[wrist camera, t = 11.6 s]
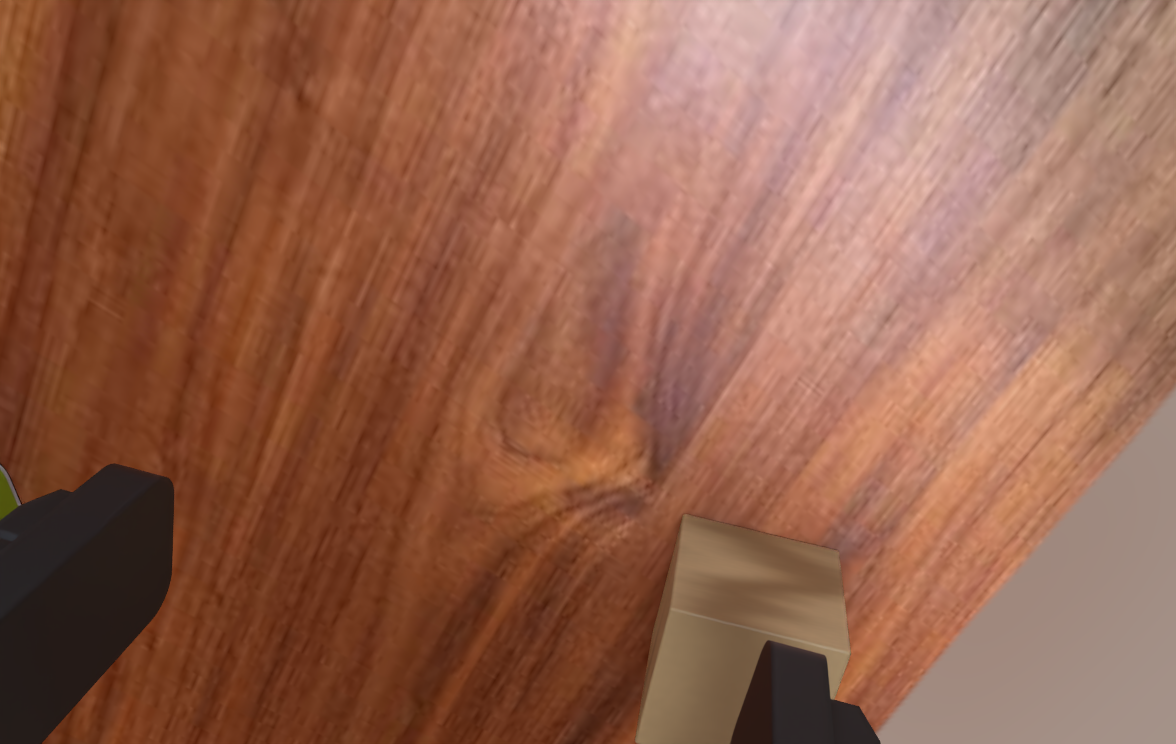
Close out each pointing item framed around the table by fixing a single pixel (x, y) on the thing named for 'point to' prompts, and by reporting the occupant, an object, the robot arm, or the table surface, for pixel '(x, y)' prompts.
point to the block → (734, 625)
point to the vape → (7, 494)
